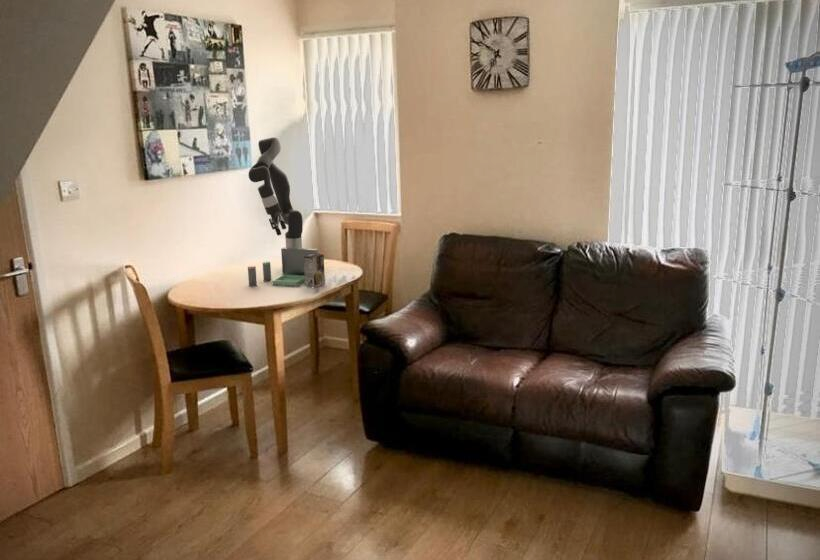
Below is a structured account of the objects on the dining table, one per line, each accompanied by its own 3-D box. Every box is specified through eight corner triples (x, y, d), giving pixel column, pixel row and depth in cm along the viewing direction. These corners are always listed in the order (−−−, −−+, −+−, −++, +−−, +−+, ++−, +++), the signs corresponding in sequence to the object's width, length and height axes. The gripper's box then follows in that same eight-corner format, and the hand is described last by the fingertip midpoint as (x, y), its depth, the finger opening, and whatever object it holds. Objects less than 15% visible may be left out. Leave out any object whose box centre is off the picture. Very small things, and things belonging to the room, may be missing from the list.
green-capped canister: (265, 279, 362) (264, 261, 360) (272, 279, 361) (271, 261, 359) (262, 281, 358) (261, 262, 356) (269, 281, 357) (268, 263, 355)
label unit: (286, 274, 372) (285, 246, 368) (320, 276, 367) (319, 247, 363) (280, 278, 364) (279, 249, 360) (315, 280, 359) (313, 250, 355)
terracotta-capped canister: (251, 284, 352) (249, 265, 350) (258, 284, 351) (256, 265, 349) (247, 285, 349) (246, 267, 346) (254, 286, 348) (253, 267, 345)
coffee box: (315, 282, 354) (314, 252, 350) (325, 284, 351) (324, 254, 347) (304, 286, 347) (303, 256, 343) (314, 288, 344) (313, 257, 340)
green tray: (283, 278, 362) (283, 274, 362) (307, 280, 359) (306, 275, 359) (272, 285, 350) (272, 280, 349) (296, 286, 346) (296, 282, 346)
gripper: (268, 200, 356) (280, 228, 362) (259, 210, 344) (271, 238, 350) (281, 197, 354) (292, 225, 361) (272, 206, 342) (284, 235, 348)
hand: (282, 231), depth 355 cm, fingers open, 8 cm apart
